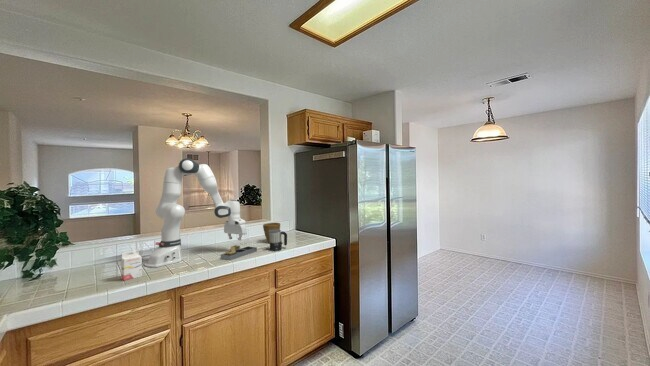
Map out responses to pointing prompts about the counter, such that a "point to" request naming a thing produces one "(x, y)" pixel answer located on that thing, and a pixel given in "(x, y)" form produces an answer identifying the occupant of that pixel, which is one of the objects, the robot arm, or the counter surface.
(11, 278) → the counter surface
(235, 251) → the nut
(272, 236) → the milk frother
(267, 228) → the plant pot
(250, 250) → the grey compartment tray
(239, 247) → the cage nut
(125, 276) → the ink cartridge box
